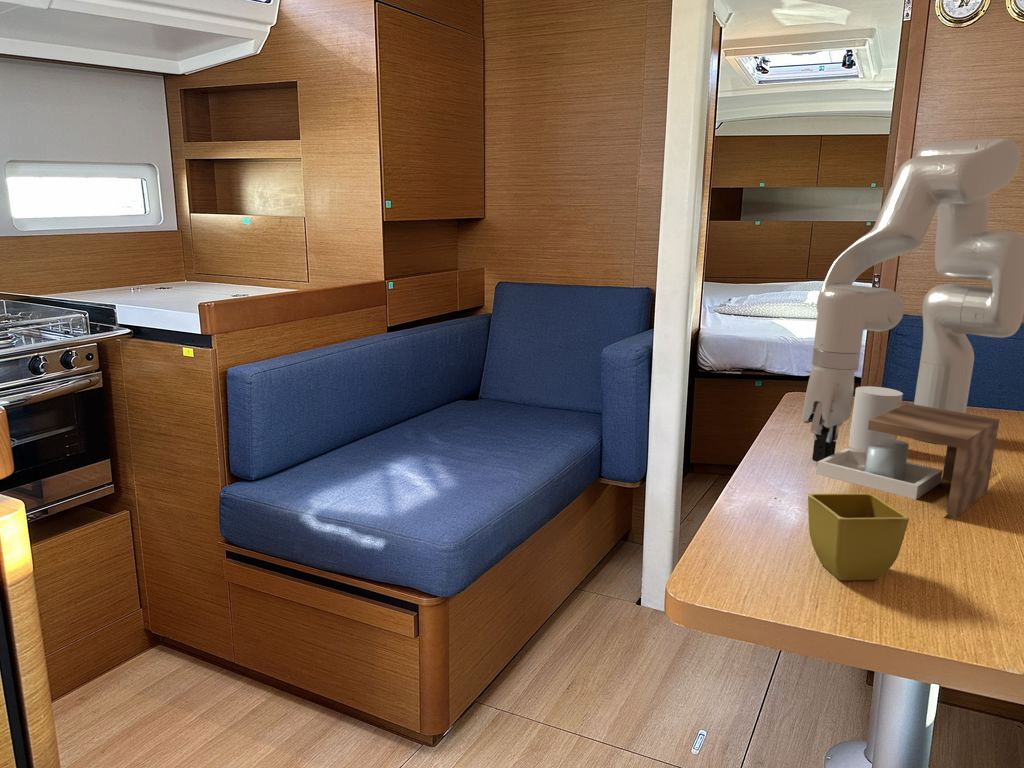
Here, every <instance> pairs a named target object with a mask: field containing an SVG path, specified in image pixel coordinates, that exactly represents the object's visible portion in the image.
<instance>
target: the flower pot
mask: <svg viewBox="0 0 1024 768" xmlns="http://www.w3.org/2000/svg"><path fill="white" fill-rule="evenodd" d="M807 510H808V511H807V513H808V514H807V515H808V517H807V518H808V531H809V538H810V541H811V544H812V548H813V549H814V552H815V555H816V556H817V558H818V561H819V562H820V564H821V565H822V566H823V567H824V568H825V569H826V570H828V571H829V572H830V573H831V574H832V575H833V576H835V578H837V579H838V580H840V581H877V580H879V579H881V578H882V577H883V576H884V575H885V574H886V573H888V571H889V570H890V569H891V568H892V567H893V565H894V563H895V562H896V560H897V558H898V557H899V554H900V552H901V549H902V545H903V542H904V538H905V535H906V531H907V528H908V524H909V520H910V517H909V516H908V515H906V514H904V513H903V512H901V511H899V510H897V508H894V507H892V506H891V505H889V504H888V503H886V502H885V501H884V500H882V499H880V498H879V497H878V496H876V495H874V494H872V493H860V492H859V493H853V492H851V493H808V494H807Z"/></svg>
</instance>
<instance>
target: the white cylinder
mask: <svg viewBox="0 0 1024 768" xmlns="http://www.w3.org/2000/svg"><path fill="white" fill-rule="evenodd" d="M854 392H855V394H854V398H853V400H854V402H853V406H852V407H853V409H852V417H851V425H850V430H849V440H848V446H849V447H850V449H852V450H856V451H861V452H865V453H867V452H868V446H869V445H880V440H882V439H894V440H898V439H897V438H898V436H897V435H893V434H888V433H883V432H878V431H873V430H868V425H869V420H871V419H873V418H876V417H878V416H880V415H882V414H885V413H887V412H889V411H891V410H894V409H896V408H898V407H901V406H902V401H903V395H904V393H903V392H901V390H897V389H893V388H887V387H881V386H870V385H869V386H868V385H867V386H864V385H863V386H857V387H855V391H854Z"/></svg>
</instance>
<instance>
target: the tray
mask: <svg viewBox="0 0 1024 768" xmlns="http://www.w3.org/2000/svg"><path fill="white" fill-rule="evenodd" d="M866 460H867V452H863V451H859V450H856V449H853V448H847V447H846V448H845V449H842V450H840V451H838V452H835V454H833V455H831V456H829V457H827V458H824V459H822V460H820V461H818V462H817V467H816V475H819V476H822V477H827V478H830V479H835V480H838V481H841V482H845V483H850V484H853V485H858V486H861V487H865V488H869V489H872V490H876V491H881V492H884V493H887V494H891V495H896V496H900V497H904V498H908V499H912V500H917V499H919V498H920V497H922V496H924V495H925V494H926V493H928V492H930V491H931V490H933V489H935V488H936V487H937V486H938V485H940V484H941V483H942V477H943V470H944V469H943V470H942V469H939V468H934V467H929V466H925V465H921V464H917V463H913V462H908V461H906V468H905V476H904V479H903V480H897V479H893V478H889V477H885V476H881V475H876V474H872V473H868V472H865V467H866Z"/></svg>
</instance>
